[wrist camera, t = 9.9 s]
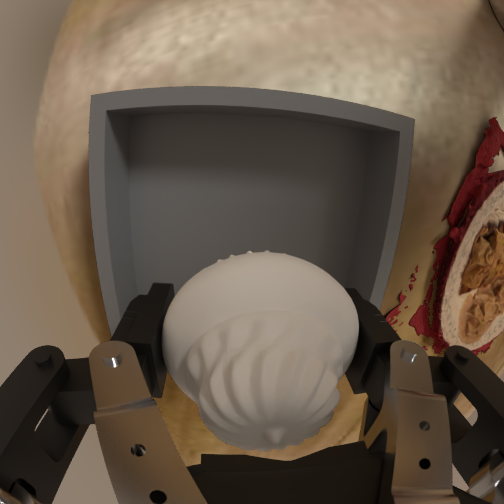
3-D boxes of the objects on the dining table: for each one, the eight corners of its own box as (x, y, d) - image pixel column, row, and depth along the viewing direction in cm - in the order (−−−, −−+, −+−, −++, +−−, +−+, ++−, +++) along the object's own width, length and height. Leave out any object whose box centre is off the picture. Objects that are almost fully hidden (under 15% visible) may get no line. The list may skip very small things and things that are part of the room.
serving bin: (376, 121, 18) (414, 119, 13) (339, 331, 24) (358, 368, 20) (122, 104, 16) (91, 95, 12) (136, 328, 23) (119, 367, 18)
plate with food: (480, 112, 18) (504, 113, 15) (553, 231, 23) (568, 239, 20) (368, 323, 26) (382, 346, 23) (477, 364, 31) (488, 378, 28)
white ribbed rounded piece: (216, 363, 13) (214, 497, 7) (150, 255, 11) (76, 391, 4) (338, 319, 13) (403, 443, 6) (301, 194, 10) (405, 283, 4)
